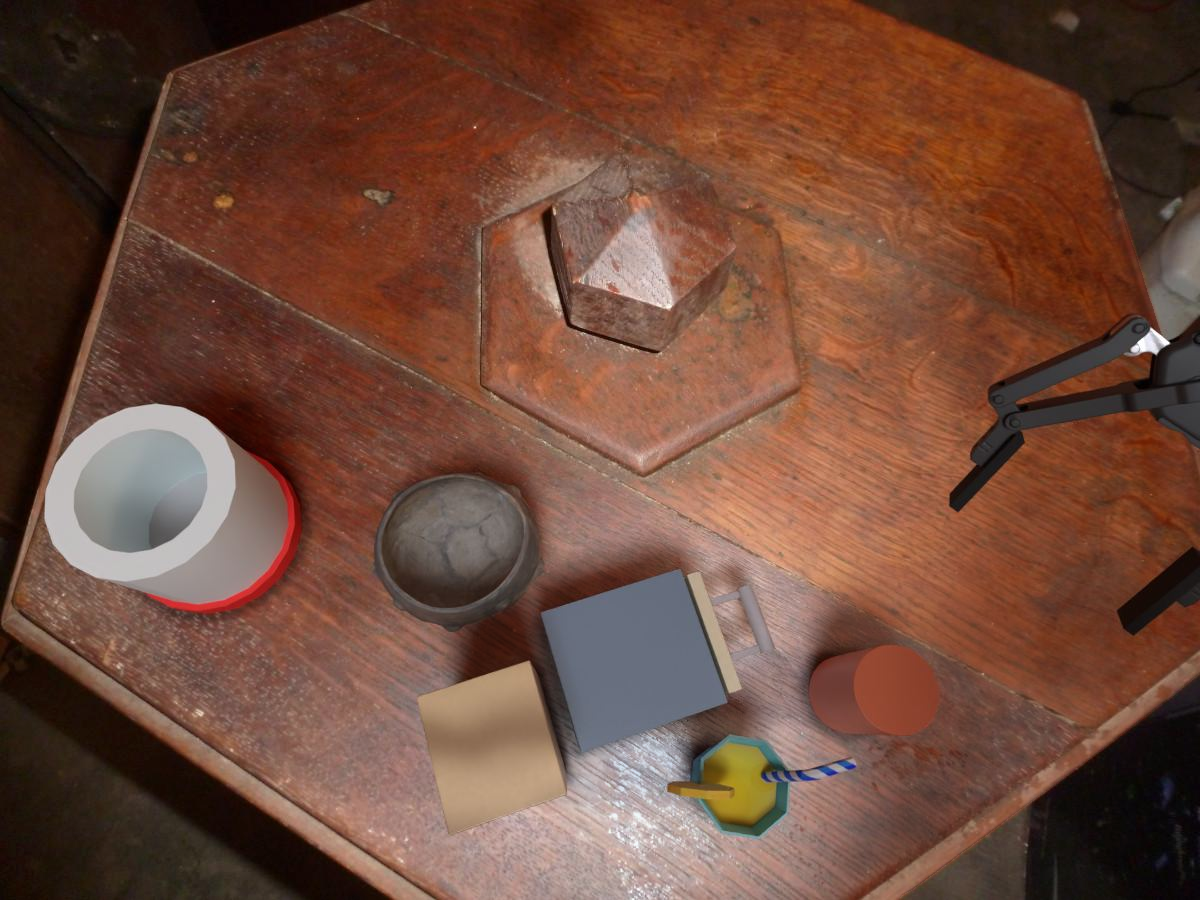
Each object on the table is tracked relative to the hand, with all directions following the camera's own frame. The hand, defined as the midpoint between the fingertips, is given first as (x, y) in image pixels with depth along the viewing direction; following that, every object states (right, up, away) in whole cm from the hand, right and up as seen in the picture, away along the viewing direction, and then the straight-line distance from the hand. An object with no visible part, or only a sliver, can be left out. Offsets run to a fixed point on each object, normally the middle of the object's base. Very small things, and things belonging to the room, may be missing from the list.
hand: (1036, 562), depth 54 cm
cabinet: (-28, -12, +19) cm, 36 cm away
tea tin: (-7, -15, +19) cm, 25 cm away
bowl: (-44, -3, +22) cm, 49 cm away
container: (-68, 0, +21) cm, 71 cm away
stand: (-39, -18, +16) cm, 46 cm away
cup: (-19, -22, +16) cm, 33 cm away
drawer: (-24, -11, +19) cm, 32 cm away
